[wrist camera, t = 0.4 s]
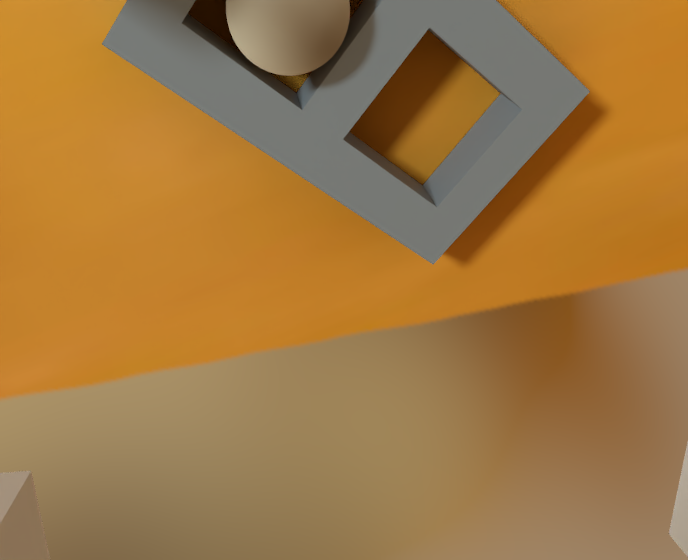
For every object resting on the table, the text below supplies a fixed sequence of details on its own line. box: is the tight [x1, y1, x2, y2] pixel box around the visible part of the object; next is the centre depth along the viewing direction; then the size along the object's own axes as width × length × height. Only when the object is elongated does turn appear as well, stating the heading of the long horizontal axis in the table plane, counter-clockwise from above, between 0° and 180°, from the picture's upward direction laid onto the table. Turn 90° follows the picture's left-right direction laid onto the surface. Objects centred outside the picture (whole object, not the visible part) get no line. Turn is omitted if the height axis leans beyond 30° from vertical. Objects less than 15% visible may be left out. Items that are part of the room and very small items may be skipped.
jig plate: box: [102, 0, 590, 264], centre depth 31 cm, size 12×20×3 cm, turn 52°
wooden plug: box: [226, 0, 350, 76], centre depth 29 cm, size 5×5×4 cm
